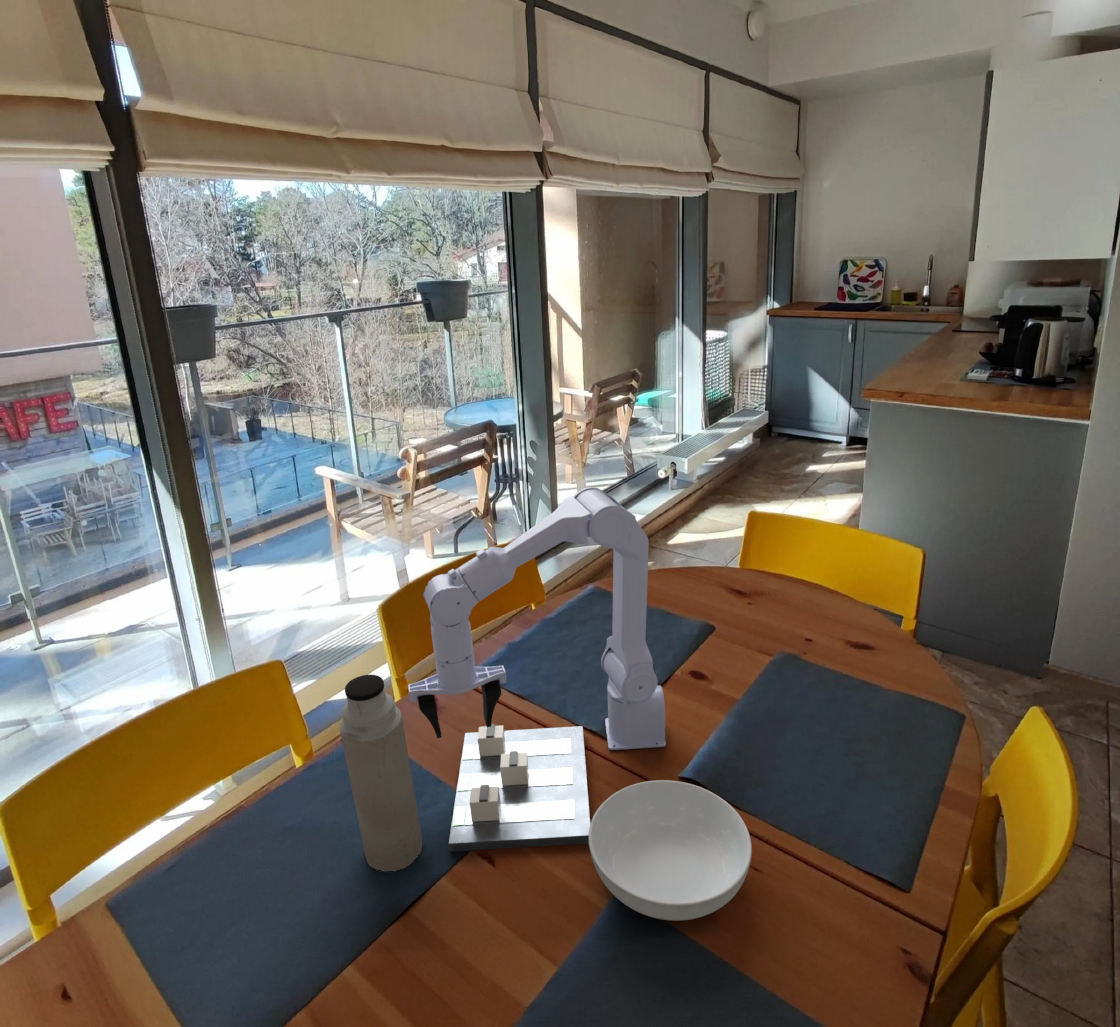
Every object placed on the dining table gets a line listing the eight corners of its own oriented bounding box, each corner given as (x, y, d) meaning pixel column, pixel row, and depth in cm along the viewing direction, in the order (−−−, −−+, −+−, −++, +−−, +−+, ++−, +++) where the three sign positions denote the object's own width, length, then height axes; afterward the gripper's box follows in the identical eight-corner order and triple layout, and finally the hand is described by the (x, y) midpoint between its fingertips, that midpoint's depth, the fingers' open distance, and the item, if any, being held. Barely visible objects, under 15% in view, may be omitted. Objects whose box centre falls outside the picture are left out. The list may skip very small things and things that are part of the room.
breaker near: (500, 804, 110) (498, 784, 108) (499, 820, 107) (497, 798, 106) (473, 806, 110) (471, 785, 108) (471, 821, 107) (469, 800, 106)
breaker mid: (528, 770, 116) (526, 750, 115) (528, 784, 113) (526, 763, 112) (503, 772, 116) (500, 752, 115) (502, 785, 113) (499, 765, 112)
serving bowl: (715, 976, 85) (717, 933, 83) (561, 900, 96) (558, 860, 93) (770, 850, 102) (773, 811, 99) (633, 797, 112) (632, 761, 110)
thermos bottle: (384, 823, 110) (355, 662, 100) (432, 834, 108) (407, 670, 97) (354, 865, 103) (319, 697, 93) (404, 878, 101) (374, 707, 90)
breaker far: (505, 742, 123) (503, 723, 121) (504, 754, 120) (502, 735, 119) (481, 744, 123) (478, 724, 121) (479, 756, 120) (477, 736, 119)
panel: (582, 733, 127) (582, 725, 126) (591, 843, 104) (591, 834, 104) (466, 740, 127) (465, 732, 126) (449, 851, 104) (448, 842, 104)
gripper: (496, 630, 115) (504, 703, 120) (402, 648, 111) (413, 723, 116) (506, 654, 108) (513, 730, 113) (406, 674, 105) (418, 751, 110)
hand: (463, 728), depth 114 cm, fingers open, 7 cm apart
